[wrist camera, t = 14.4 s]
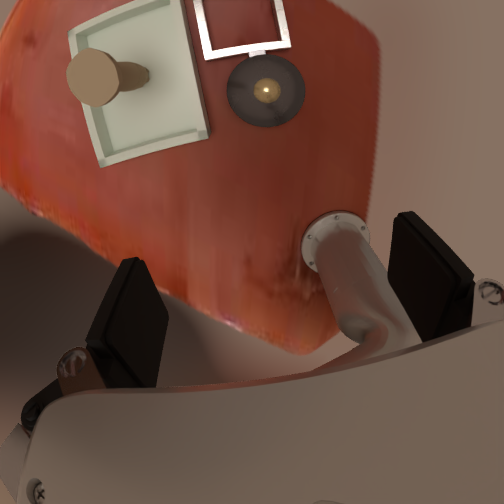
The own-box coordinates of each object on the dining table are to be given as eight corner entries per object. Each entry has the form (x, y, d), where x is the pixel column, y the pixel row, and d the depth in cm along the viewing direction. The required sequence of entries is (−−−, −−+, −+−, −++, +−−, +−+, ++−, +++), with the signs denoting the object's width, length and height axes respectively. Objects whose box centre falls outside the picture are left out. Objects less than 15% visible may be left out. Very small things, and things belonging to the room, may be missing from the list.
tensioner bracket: (297, 115, 37) (311, 123, 31) (220, 127, 38) (217, 137, 31) (273, -16, 26) (282, -36, 19) (194, -4, 26) (184, -22, 20)
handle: (140, 50, 30) (91, 38, 17) (166, 81, 33) (128, 81, 20) (114, 73, 31) (58, 75, 18) (140, 103, 34) (93, 117, 21)
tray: (211, 132, 38) (208, 138, 35) (112, 159, 39) (100, 168, 35) (183, -4, 26) (177, -13, 22) (82, 34, 27) (67, 31, 23)
